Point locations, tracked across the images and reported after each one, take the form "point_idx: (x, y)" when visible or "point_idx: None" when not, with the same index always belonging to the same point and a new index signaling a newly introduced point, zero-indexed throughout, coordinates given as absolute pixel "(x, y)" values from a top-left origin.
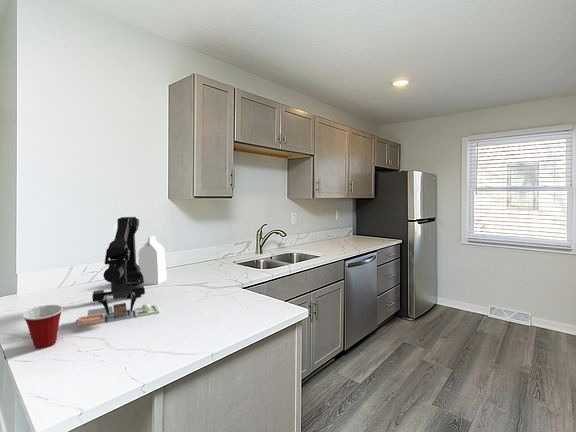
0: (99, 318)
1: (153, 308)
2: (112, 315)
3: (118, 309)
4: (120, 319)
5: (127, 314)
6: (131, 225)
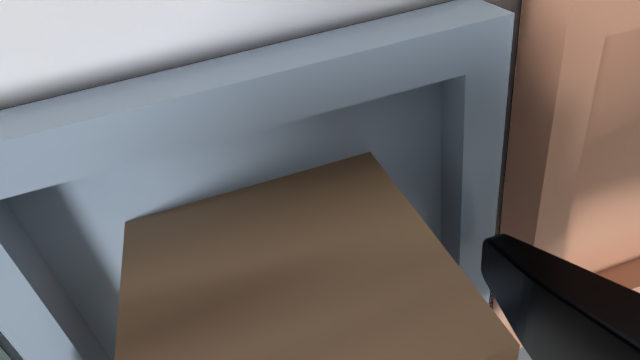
0: (577, 217)
1: None
2: None
3: (351, 332)
4: (224, 66)
5: None
6: None
